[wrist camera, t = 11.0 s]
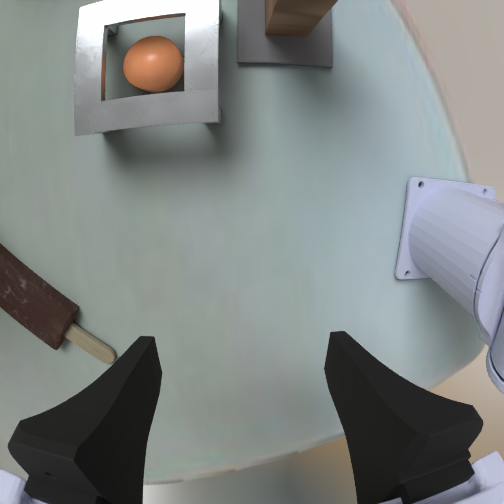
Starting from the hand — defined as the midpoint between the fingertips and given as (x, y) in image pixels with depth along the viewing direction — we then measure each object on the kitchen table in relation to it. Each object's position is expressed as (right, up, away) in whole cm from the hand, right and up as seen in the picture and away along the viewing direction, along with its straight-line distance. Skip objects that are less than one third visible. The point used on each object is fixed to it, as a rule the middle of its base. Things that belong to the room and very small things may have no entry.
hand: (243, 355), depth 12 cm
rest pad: (+2, +19, +4) cm, 19 cm away
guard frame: (-6, +16, +5) cm, 17 cm away
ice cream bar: (-18, 0, +11) cm, 21 cm away
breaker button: (-6, +16, +6) cm, 18 cm away
